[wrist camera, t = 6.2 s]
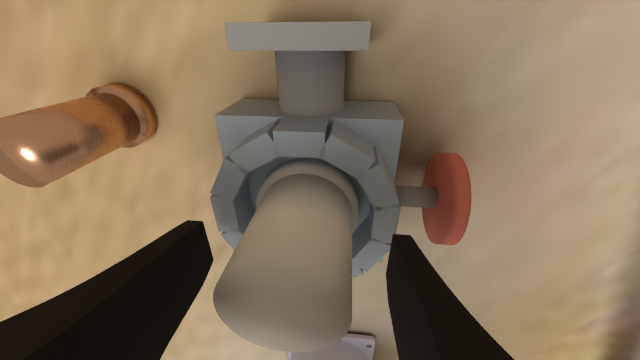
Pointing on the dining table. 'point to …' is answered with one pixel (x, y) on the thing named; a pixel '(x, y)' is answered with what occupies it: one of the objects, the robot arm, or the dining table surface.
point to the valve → (328, 140)
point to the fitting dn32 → (73, 133)
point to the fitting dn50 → (294, 260)
